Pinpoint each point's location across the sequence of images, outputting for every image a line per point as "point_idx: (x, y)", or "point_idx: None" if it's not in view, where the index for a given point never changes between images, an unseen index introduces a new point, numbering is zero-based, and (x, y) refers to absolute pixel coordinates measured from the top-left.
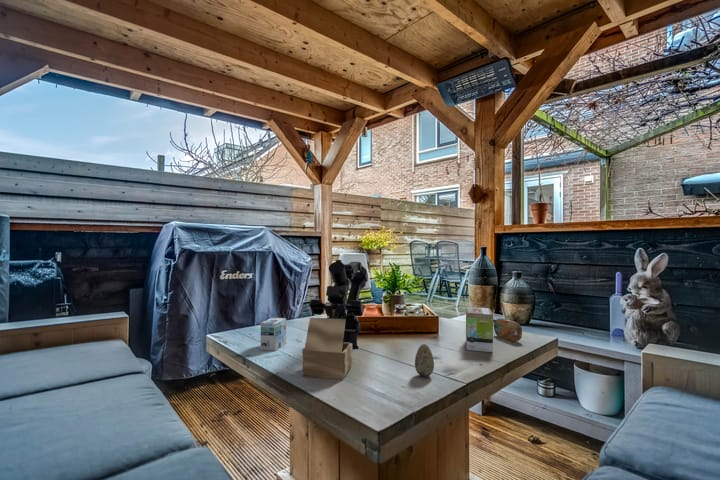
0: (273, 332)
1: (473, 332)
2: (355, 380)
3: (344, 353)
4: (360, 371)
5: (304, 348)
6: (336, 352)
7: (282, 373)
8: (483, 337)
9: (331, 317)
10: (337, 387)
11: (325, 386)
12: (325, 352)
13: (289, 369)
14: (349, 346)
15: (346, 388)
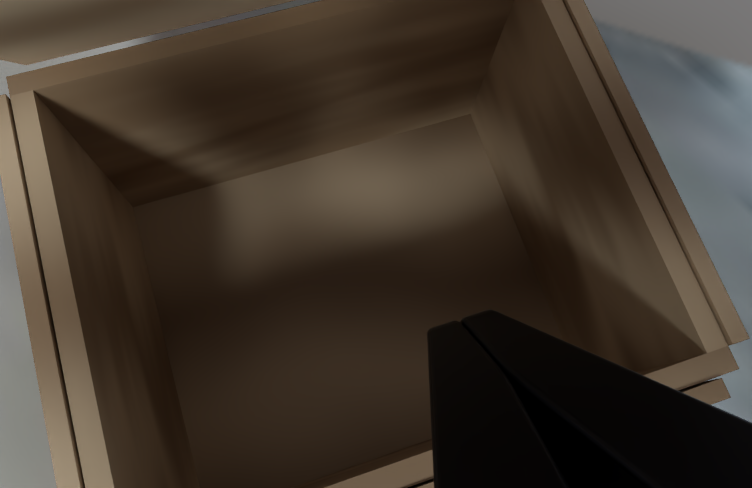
0: None
1: None
2: (5, 237)
3: (2, 103)
4: (48, 468)
5: (580, 4)
6: (98, 46)
7: (665, 79)
8: None
9: (680, 474)
10: (89, 55)
11: (187, 31)
12: (255, 22)
13: (692, 173)
14: (46, 379)
15: (12, 69)
